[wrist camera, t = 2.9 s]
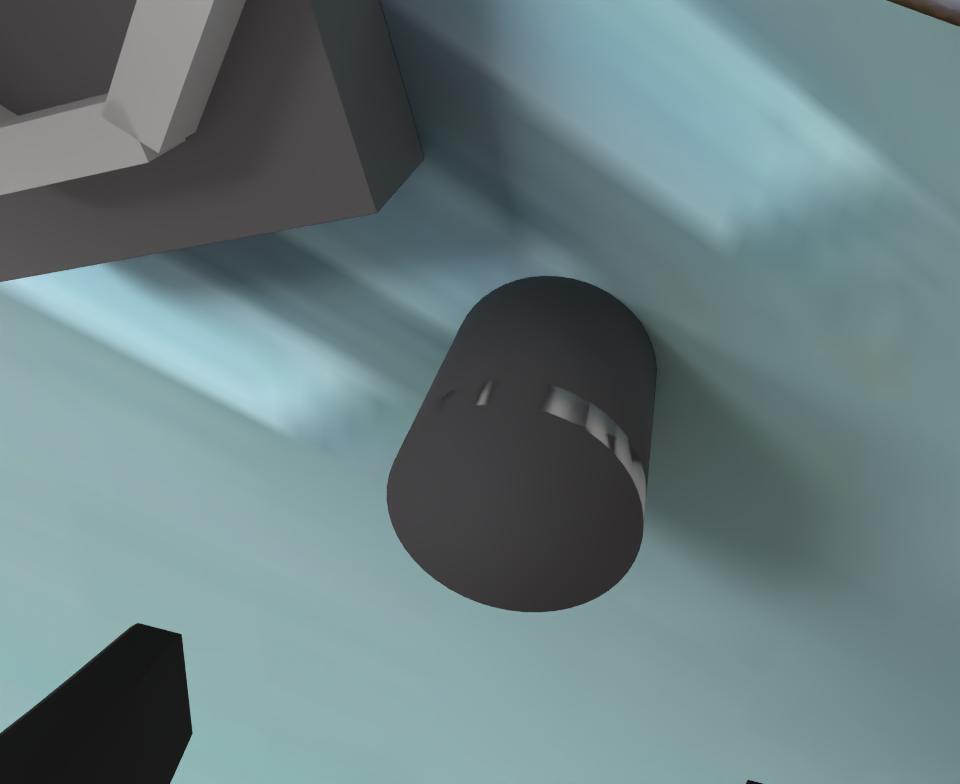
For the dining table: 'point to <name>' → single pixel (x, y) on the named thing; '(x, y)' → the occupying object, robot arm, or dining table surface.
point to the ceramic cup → (935, 8)
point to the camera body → (191, 124)
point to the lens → (531, 449)
